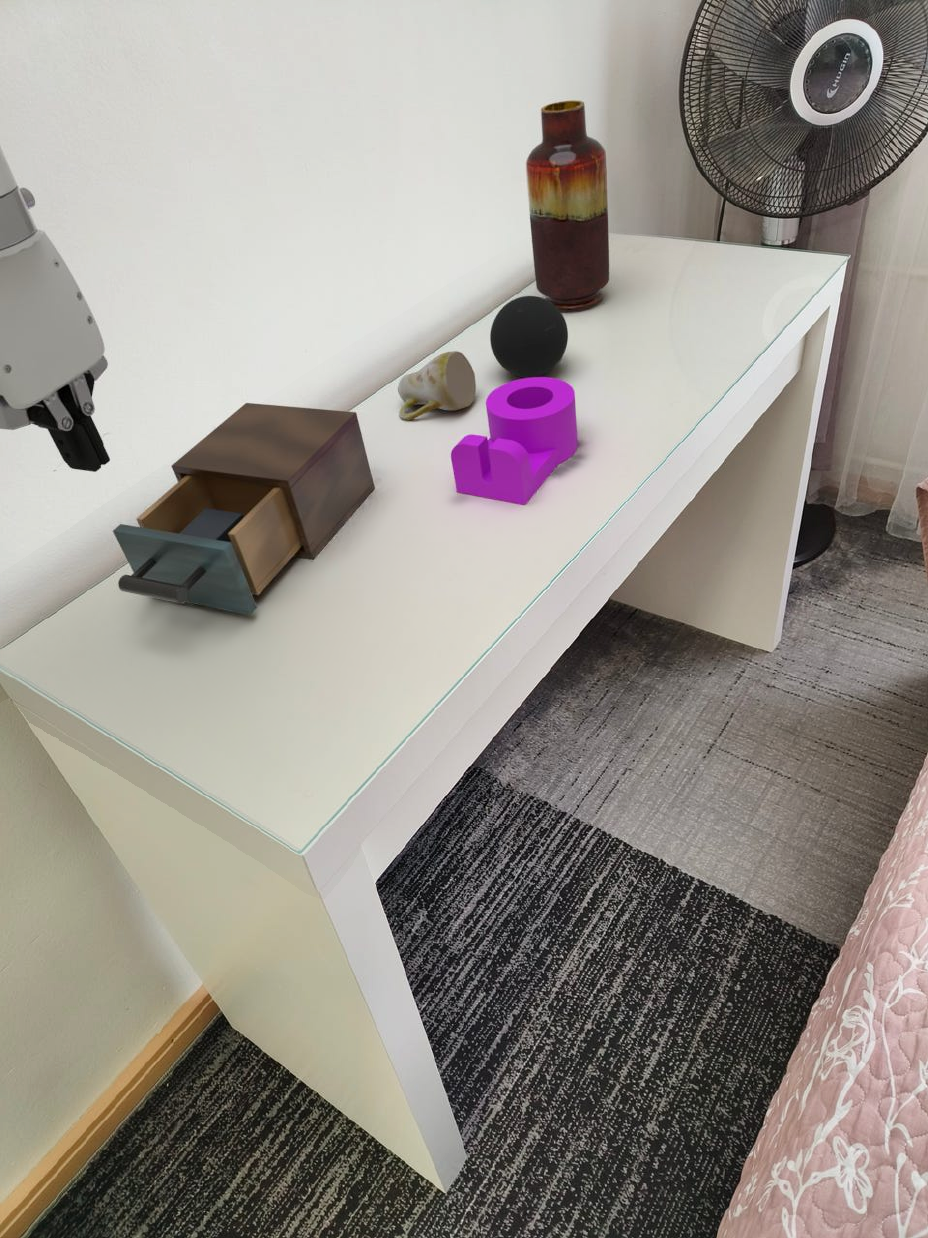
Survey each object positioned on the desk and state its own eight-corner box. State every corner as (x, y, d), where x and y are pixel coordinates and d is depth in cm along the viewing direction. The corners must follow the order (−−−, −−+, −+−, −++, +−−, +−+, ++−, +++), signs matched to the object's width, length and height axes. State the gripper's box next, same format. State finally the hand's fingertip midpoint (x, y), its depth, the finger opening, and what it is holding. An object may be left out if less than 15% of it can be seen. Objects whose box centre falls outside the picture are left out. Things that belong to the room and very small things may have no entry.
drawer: (223, 646, 78) (193, 580, 73) (114, 621, 83) (79, 558, 78) (317, 538, 89) (297, 475, 84) (216, 523, 94) (192, 462, 89)
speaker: (504, 357, 118) (496, 284, 111) (576, 355, 115) (571, 281, 108) (486, 391, 111) (476, 316, 104) (562, 390, 108) (556, 313, 101)
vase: (542, 288, 134) (527, 100, 117) (612, 284, 132) (607, 91, 115) (532, 317, 127) (514, 120, 110) (607, 313, 124) (601, 110, 107)
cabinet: (313, 559, 88) (287, 480, 81) (202, 540, 93) (170, 465, 87) (375, 488, 96) (356, 411, 90) (270, 475, 102) (246, 402, 96)
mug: (409, 391, 114) (436, 325, 108) (466, 432, 112) (496, 366, 106) (378, 404, 108) (404, 334, 102) (437, 447, 107) (467, 379, 100)
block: (230, 577, 84) (214, 540, 81) (193, 571, 86) (177, 534, 83) (256, 550, 87) (242, 513, 84) (220, 544, 88) (205, 507, 86)
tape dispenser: (516, 421, 103) (510, 373, 99) (591, 431, 99) (588, 381, 95) (450, 490, 94) (442, 440, 90) (531, 506, 89) (525, 454, 85)
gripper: (18, 195, 63) (117, 417, 75) (-158, 270, 54) (-12, 510, 66) (91, 193, 60) (182, 423, 72) (-81, 271, 51) (58, 522, 63)
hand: (90, 464), depth 69 cm, fingers closed
